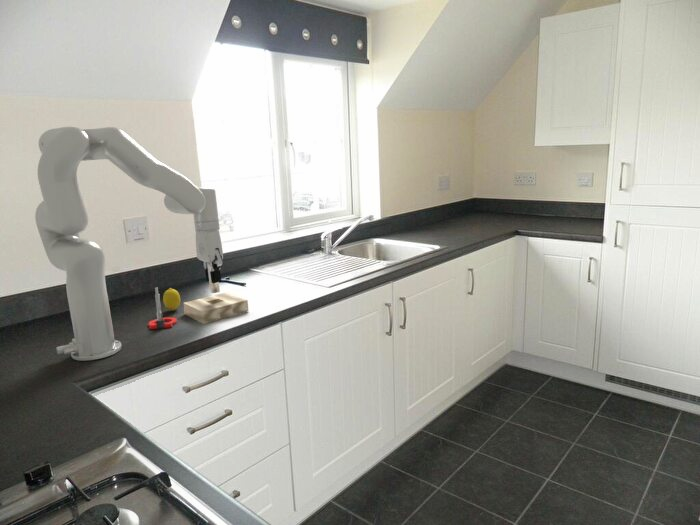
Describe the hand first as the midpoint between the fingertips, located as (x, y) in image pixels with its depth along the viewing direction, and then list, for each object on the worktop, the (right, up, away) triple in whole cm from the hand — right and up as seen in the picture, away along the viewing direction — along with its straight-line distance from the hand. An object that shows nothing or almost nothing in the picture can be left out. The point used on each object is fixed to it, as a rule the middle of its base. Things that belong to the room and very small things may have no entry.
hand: (213, 280), depth 170 cm
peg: (0, -4, +1) cm, 4 cm away
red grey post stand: (-14, -14, -6) cm, 21 cm away
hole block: (0, -11, +2) cm, 11 cm away
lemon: (-16, -11, +7) cm, 20 cm away
